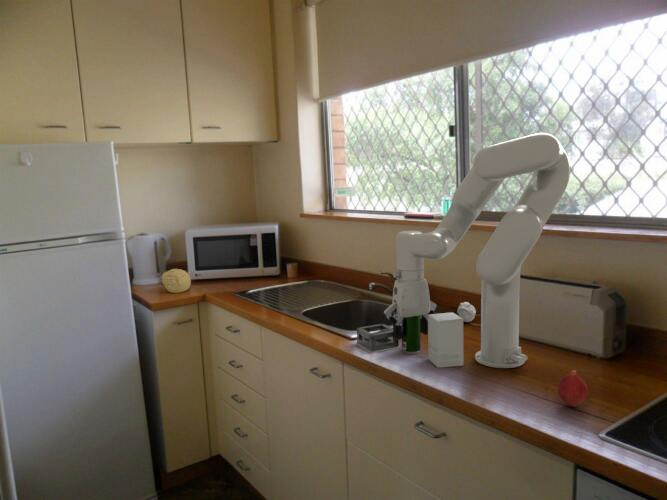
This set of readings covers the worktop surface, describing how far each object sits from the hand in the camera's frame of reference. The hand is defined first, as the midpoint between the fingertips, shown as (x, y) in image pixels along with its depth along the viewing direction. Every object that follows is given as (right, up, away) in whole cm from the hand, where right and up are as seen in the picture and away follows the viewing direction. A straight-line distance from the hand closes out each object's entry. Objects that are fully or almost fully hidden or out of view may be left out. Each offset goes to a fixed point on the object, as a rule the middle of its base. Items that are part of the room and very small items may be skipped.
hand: (411, 335), depth 151 cm
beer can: (0, -5, +1) cm, 5 cm away
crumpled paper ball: (+23, 0, +28) cm, 36 cm away
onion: (+29, -9, -38) cm, 48 cm away
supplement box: (+8, -6, -9) cm, 13 cm away
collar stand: (-9, -4, +6) cm, 12 cm away
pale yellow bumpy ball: (-94, +5, +94) cm, 133 cm away
